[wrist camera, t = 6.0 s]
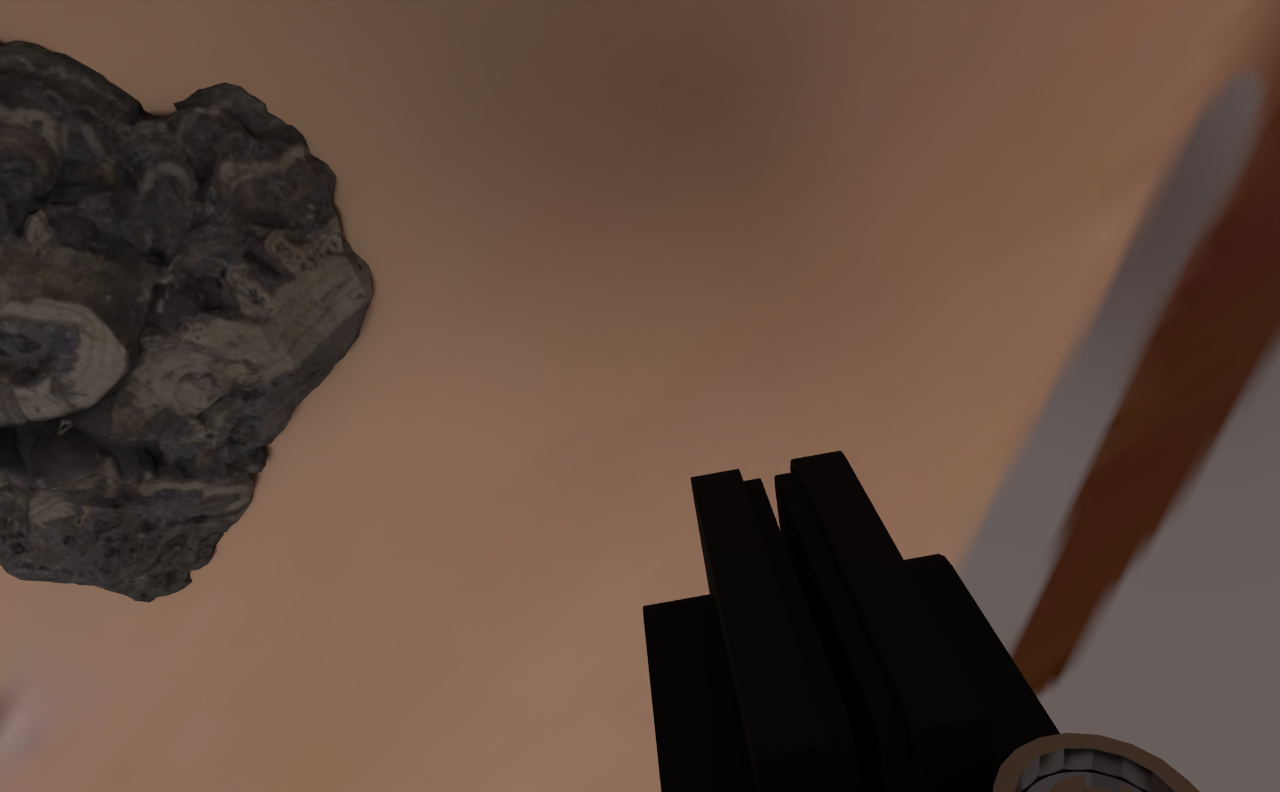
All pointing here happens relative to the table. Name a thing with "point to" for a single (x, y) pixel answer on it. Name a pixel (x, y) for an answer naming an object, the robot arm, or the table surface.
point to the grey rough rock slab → (152, 318)
